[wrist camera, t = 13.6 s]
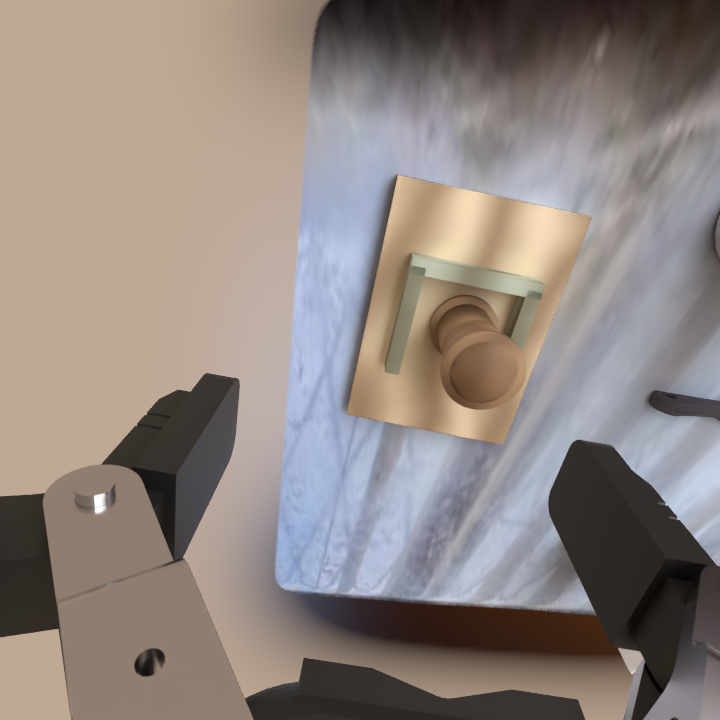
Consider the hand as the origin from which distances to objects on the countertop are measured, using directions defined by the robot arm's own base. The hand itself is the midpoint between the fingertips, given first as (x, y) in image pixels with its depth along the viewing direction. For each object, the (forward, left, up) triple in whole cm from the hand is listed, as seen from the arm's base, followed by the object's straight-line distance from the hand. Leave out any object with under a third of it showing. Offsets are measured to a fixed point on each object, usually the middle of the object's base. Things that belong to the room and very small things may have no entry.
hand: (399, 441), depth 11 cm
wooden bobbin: (-8, +6, -28) cm, 30 cm away
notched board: (-7, +6, -30) cm, 31 cm away
